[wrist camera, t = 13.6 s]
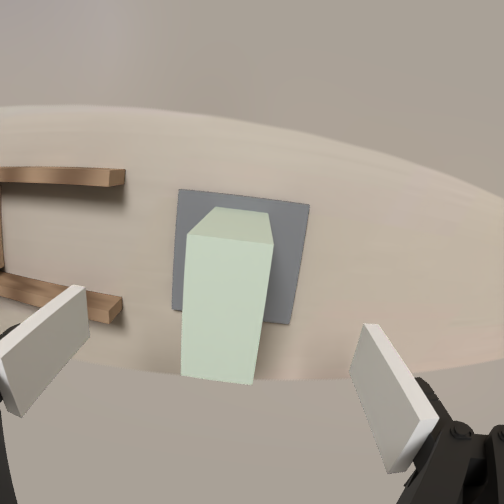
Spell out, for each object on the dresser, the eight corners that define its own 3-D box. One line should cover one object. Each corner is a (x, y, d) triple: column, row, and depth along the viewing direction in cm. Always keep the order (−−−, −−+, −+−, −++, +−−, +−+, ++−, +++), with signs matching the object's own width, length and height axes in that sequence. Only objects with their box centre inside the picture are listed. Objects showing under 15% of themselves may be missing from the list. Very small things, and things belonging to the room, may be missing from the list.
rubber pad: (173, 306, 27) (171, 309, 27) (180, 189, 25) (178, 189, 24) (288, 320, 27) (289, 324, 27) (308, 204, 25) (309, 205, 24)
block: (206, 303, 26) (180, 375, 17) (215, 206, 24) (187, 233, 15) (254, 309, 27) (252, 385, 17) (268, 213, 24) (273, 244, 15)
